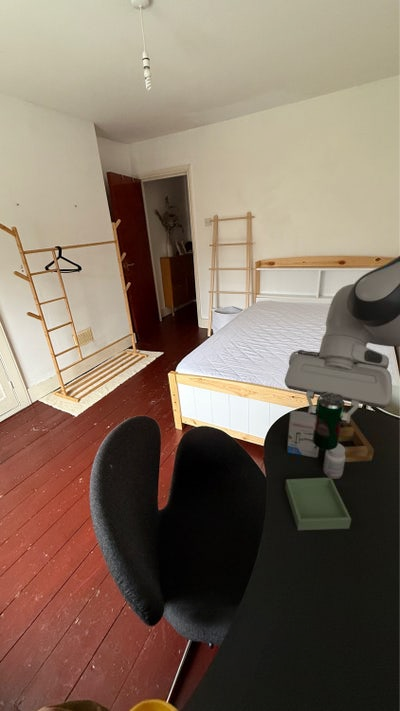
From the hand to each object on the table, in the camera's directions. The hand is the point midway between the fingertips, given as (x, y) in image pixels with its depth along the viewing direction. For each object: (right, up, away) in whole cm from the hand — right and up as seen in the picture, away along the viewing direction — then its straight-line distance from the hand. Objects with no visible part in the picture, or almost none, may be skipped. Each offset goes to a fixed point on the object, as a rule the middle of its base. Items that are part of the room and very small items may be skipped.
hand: (328, 418), depth 61 cm
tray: (+1, -23, +10) cm, 25 cm away
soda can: (+1, -6, +4) cm, 7 cm away
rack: (+16, -13, +29) cm, 35 cm away
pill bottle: (+9, -18, +19) cm, 28 cm away
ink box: (+4, -15, +27) cm, 31 cm away
